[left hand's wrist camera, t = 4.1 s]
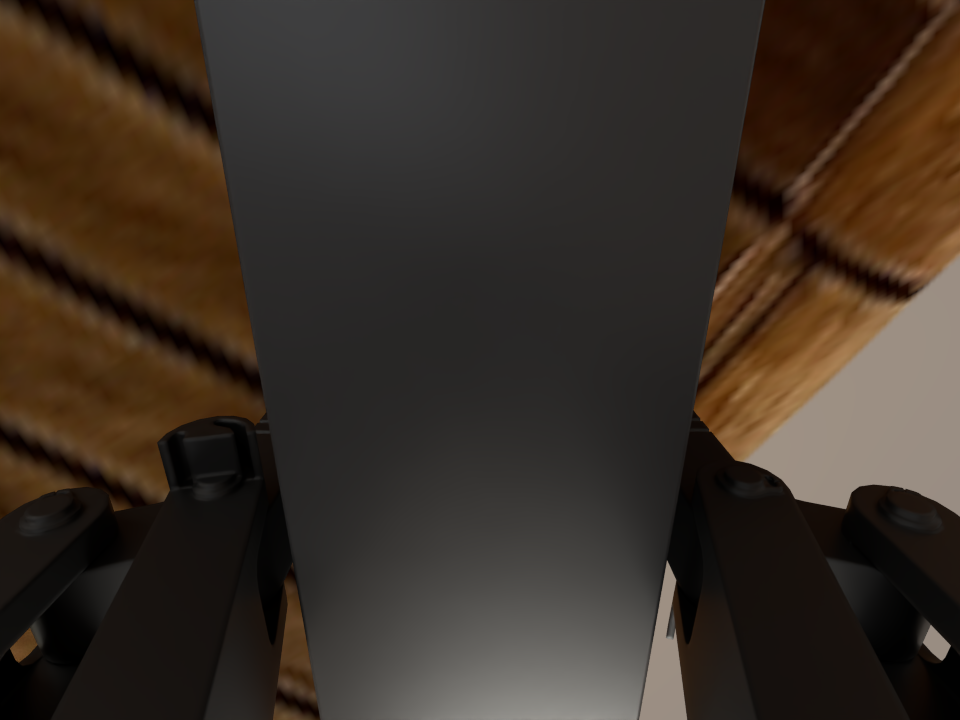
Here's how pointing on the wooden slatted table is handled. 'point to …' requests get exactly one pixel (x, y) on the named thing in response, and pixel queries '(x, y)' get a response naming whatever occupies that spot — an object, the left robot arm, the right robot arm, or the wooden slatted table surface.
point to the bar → (479, 325)
